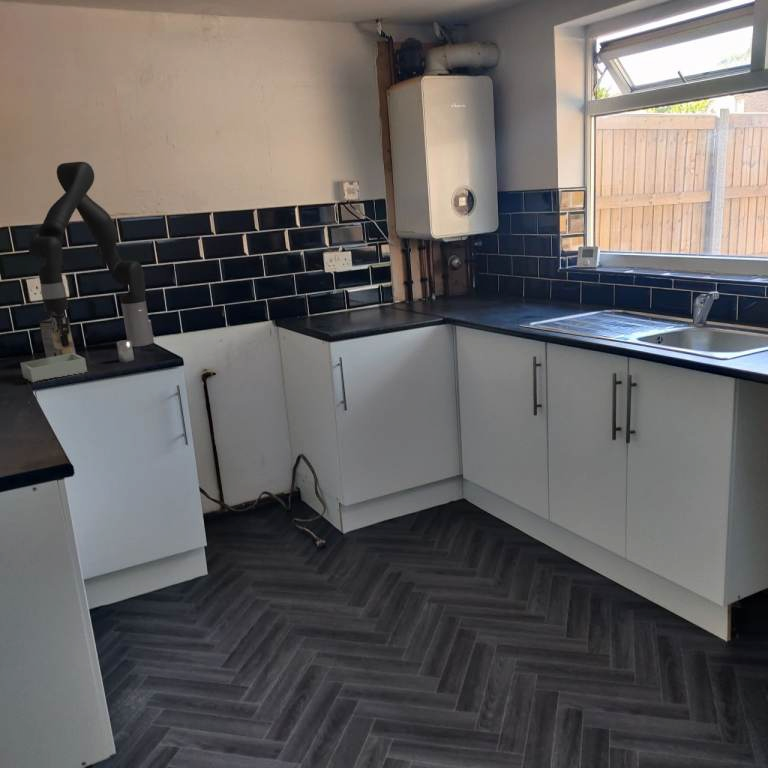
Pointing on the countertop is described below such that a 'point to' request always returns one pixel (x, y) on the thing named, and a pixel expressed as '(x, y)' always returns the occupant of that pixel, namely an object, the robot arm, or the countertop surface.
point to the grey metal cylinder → (125, 350)
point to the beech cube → (58, 343)
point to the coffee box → (48, 340)
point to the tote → (53, 367)
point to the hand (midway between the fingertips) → (63, 345)
